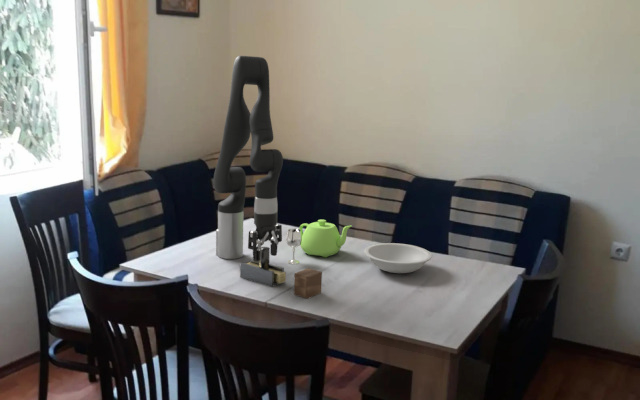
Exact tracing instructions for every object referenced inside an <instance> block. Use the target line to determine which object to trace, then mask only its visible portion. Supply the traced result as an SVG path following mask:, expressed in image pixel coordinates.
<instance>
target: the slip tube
mask: <svg viewBox="0 0 640 400" xmlns="http://www.w3.org/2000/svg"><path fill="white" fill-rule="evenodd" d="M270 249H271V247H268V246H261V248H260V250H259V251H260V265H257V264H254V263H250V262H245V263H246V264H250V265H253V266H257V267H260V268H264V269H267V270H271V271H274V282H276V283H279V284H278V285H280V283H281V284H282V283H285V282H286V281H287V280H286V278H287V276H286V275H287V273H286V272H285V271H284V272H282V271H278V270H275V269H271V268H269V264H270Z"/></svg>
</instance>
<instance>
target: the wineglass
mask: <svg viewBox="0 0 640 400" xmlns="http://www.w3.org/2000/svg"><path fill="white" fill-rule="evenodd" d="M285 238H286V239H285V241H286V245H287V246H289V247H290V248H292V250H291V251H292V259H289V260H287V263H288V264H290V265H297V264H299V263H300V261H299V260H297V259H295V252H296V248H298V247H301V246H300V245H301V243H302V234H301V230H300V229H299V228H289V229H288V230H287V233H286V237H285Z"/></svg>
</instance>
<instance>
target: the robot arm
mask: <svg viewBox="0 0 640 400" xmlns="http://www.w3.org/2000/svg"><path fill="white" fill-rule="evenodd" d="M245 85H248V86H249V85H250V86H251V85H252V86H257V91H258V92H257V98H256V101H255V103H254V104H253V106H252V109H251V112H250V110H249V108H248V106H247V104H246V101H245V98H244V97H245V96H244V89H245ZM270 93H271V92H270V69H269V65H268V61H267V60H266V59H265V57H261V56H250V55H238V56H236V57H235V59H234V62H233V67H232V74H231V85H230V94H229V102H228V106H227V107H228V108H227V111H226V117H225V121H224V127H223V134H222V135H223V136H222V142H221V146H220V151H219V155H218V158H217V163H216V166H215V170H214V173H213V181H212V182H213V188H214V190H215V192H217V193H218V194H229V195H228V197H227V198H224V200H221V201H220V202H218V205H217V229H216V231H215V240H216V241H215V255H216V256H217V257H219V258H221V259H226V260H233V259H234V260H236V259H239V258H242V257H243V256H244V206H245V203H246V188H247V177H246V172H245V170H244V168H243V167H241V166H233V167H231V166H232V164H233V162H234V160H235V159H236V157H237V156H238V154H239V153H240V152H241V151H242V150H243V149H244V147H245V146H246V145H247V144H248V142H249V140H250V137H251V147H250V148H251V149H250V156H249V165H250V168H251V169H252V170H253V171H254V172H258V173H260V172H268V173H267V175H266V176H264V177H261V178H258V179H256V180H255V184H254V185H255V186H254V188H255V189H254V201H253V213H254V214H253V215H254V216H253V224H254V226H255V230H249V231H248V244H247V248H248V249H249V250H252V259H253V260H254V261H256V262H259V261H260V248H261V247H263V245H264V244H265V242H268V241H269V243H270V253H269V255H270V256H274V257H276V256H277V255H278V245H279V243H281V242H282V241H283V230H282V229H283V228H282V224H279V223H278V196H277V195H278V181H279V179H280V178H279V177H280V175H281V174H280V173H281V171H282V167H283V165H284V164H283V163H284V156H283V153H282V152H281V151H280V150H279V149H275V148H270V149H265V148H264V149H262V146H266V145H268V144H271V143H272V142H273V141H274V131H273V124H272V120H271V119H272V118H271V109H270V105H271V104H270V97H271V96H270Z"/></svg>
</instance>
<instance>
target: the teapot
mask: <svg viewBox="0 0 640 400" xmlns="http://www.w3.org/2000/svg"><path fill="white" fill-rule="evenodd" d="M304 227H306V228H305V230H304V231H303V229H304ZM351 227H352V225H346V226H344V227H343V228H342V232H341V235H340V232H339V230H338V227H337V226H336V225H335V224H334V223H331V222H327V220H326V219H318V220H317V221H314V222H311V223H307V222H306V223H302V224H300V226H299V228H298V229H300V230H301V234H302V243H301V245H300V246H299V247H301V248H300V249H301V250H302V251H303V252H304V253H306V255H308V256H321V257H322V258H328V257H329V256H334V255H336V254H337V253H339V251H340V250H341V248H342V246H344V245H345V243H346V240H347V235H348V230H349V229H350V228H351Z"/></svg>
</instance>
